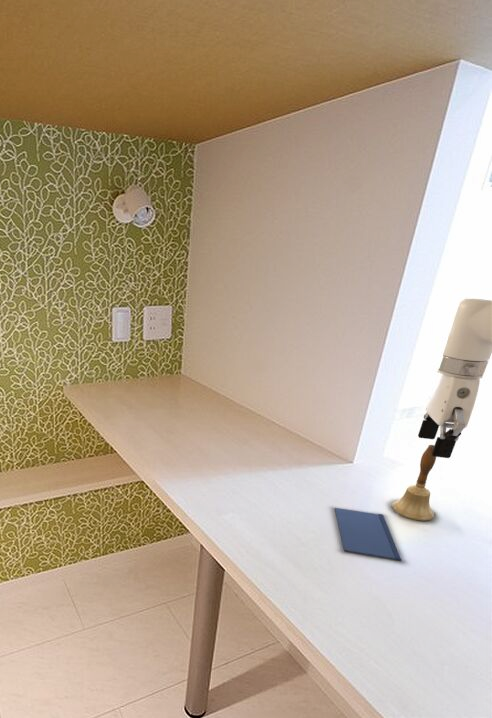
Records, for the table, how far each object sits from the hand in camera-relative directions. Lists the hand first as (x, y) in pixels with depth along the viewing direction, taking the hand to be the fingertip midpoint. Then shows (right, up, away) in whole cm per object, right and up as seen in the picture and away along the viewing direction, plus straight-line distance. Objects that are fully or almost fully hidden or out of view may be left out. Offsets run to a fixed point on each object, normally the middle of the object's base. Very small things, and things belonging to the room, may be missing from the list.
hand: (432, 446), depth 91 cm
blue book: (-15, -18, -1) cm, 23 cm away
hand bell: (0, -14, +7) cm, 16 cm away
